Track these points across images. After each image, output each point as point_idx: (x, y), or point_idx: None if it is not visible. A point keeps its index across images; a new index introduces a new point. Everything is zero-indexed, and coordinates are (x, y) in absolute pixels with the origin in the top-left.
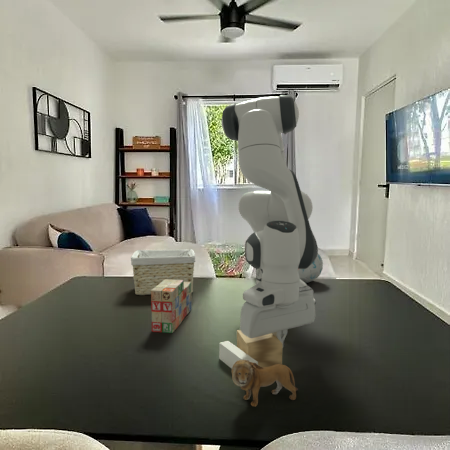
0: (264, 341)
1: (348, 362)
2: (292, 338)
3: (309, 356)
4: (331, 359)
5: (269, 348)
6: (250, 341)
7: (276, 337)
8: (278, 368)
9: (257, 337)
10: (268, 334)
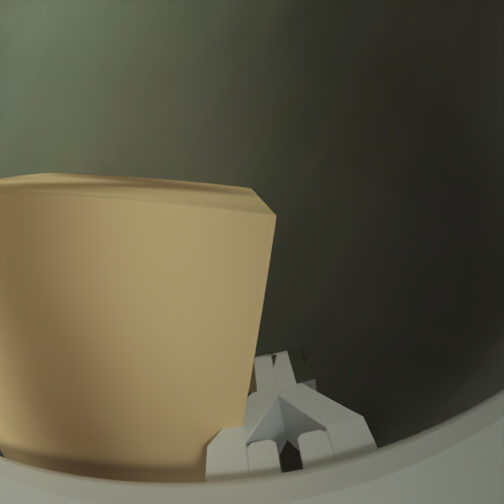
0: None
1: (479, 395)
2: (474, 96)
3: (425, 335)
4: (463, 372)
5: None
6: (14, 441)
7: None
8: None
9: (58, 422)
10: (179, 415)
